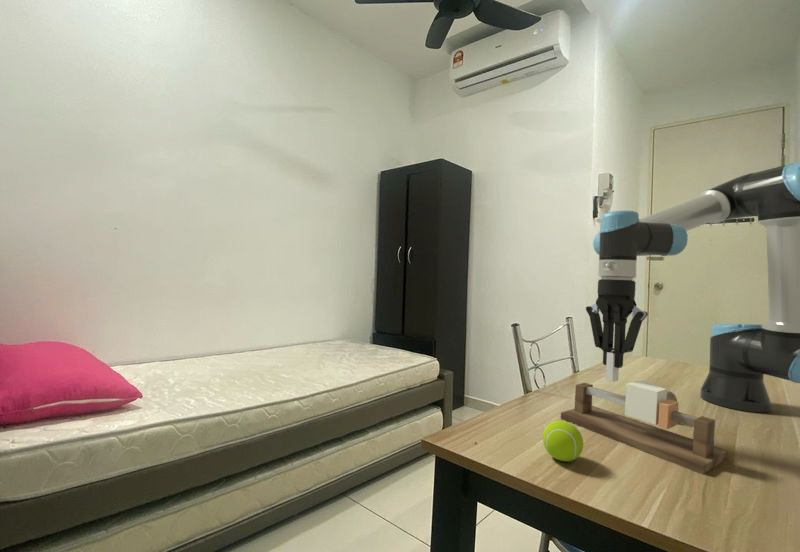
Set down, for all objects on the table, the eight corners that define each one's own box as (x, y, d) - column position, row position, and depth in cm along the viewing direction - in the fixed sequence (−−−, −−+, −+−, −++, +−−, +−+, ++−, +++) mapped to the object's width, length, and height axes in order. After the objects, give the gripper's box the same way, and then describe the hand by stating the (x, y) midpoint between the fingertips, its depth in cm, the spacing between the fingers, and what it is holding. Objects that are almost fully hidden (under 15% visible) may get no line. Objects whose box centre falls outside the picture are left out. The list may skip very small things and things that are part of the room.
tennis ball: (545, 446, 75) (546, 412, 75) (583, 456, 71) (585, 420, 71) (538, 461, 69) (540, 423, 69) (580, 473, 65) (582, 433, 65)
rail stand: (588, 410, 96) (589, 379, 96) (726, 458, 73) (729, 417, 73) (560, 418, 90) (562, 385, 90) (703, 474, 66) (705, 429, 66)
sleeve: (634, 411, 84) (636, 381, 84) (665, 420, 79) (667, 388, 79) (624, 414, 81) (626, 383, 81) (655, 424, 76) (657, 391, 76)
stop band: (668, 422, 78) (669, 399, 78) (677, 424, 77) (678, 401, 77) (658, 426, 76) (659, 403, 76) (667, 429, 74) (668, 405, 74)
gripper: (580, 277, 89) (576, 375, 90) (639, 279, 78) (634, 391, 79) (597, 278, 93) (593, 371, 94) (655, 280, 83) (650, 385, 83)
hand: (611, 380), depth 86 cm, fingers closed
